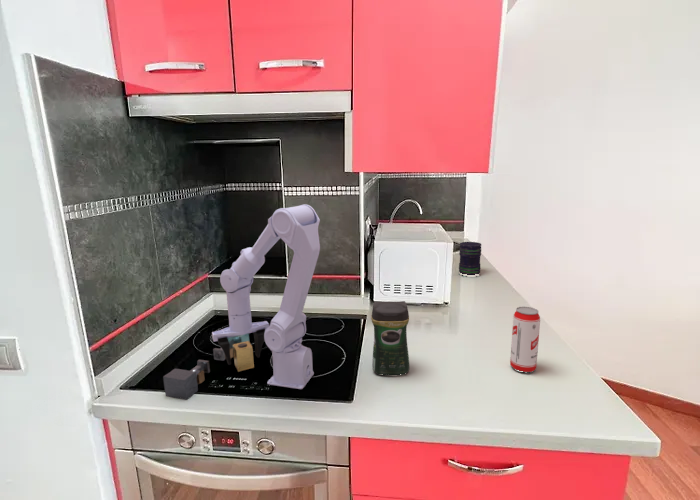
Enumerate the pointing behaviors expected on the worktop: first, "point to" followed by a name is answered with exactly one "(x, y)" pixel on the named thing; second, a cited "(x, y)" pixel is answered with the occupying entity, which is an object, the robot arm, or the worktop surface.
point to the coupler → (243, 356)
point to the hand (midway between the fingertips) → (243, 359)
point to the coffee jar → (390, 338)
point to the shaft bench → (195, 373)
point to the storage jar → (470, 258)
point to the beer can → (525, 339)
